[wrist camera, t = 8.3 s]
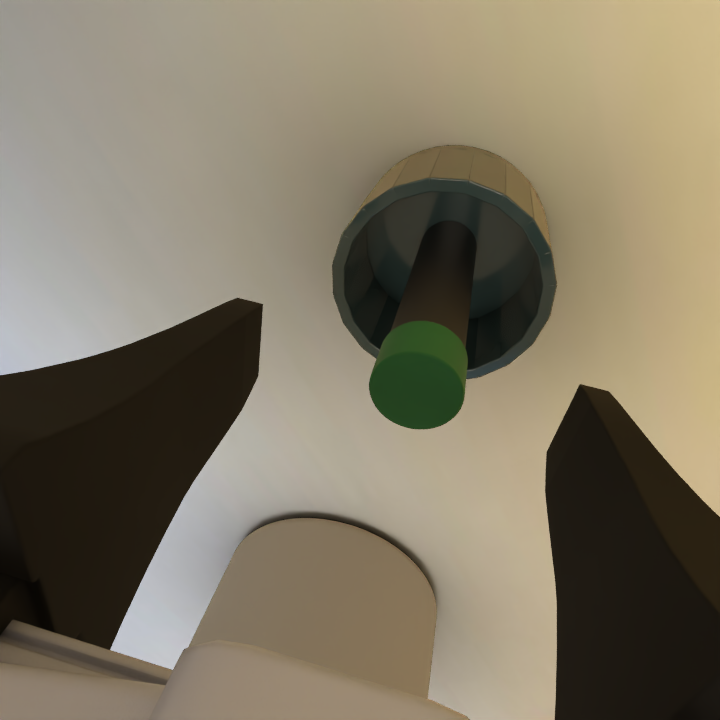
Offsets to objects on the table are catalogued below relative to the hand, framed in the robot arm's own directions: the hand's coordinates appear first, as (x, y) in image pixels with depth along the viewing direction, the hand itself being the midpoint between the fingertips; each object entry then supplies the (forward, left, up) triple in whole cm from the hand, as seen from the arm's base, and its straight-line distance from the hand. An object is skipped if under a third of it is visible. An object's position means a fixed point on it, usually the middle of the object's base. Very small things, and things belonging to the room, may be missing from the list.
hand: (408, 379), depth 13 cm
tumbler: (0, 0, -10) cm, 10 cm away
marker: (0, 0, -9) cm, 9 cm away
